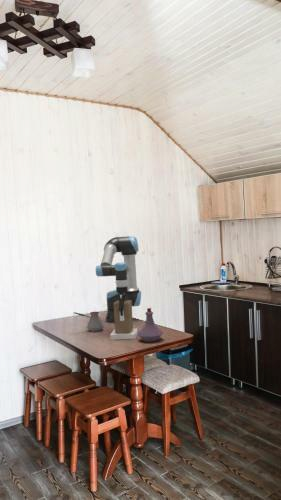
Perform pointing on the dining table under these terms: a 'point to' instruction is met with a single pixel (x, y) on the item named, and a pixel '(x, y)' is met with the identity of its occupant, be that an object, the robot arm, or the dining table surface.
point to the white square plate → (124, 335)
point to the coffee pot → (93, 322)
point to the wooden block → (127, 324)
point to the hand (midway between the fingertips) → (123, 318)
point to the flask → (150, 329)
